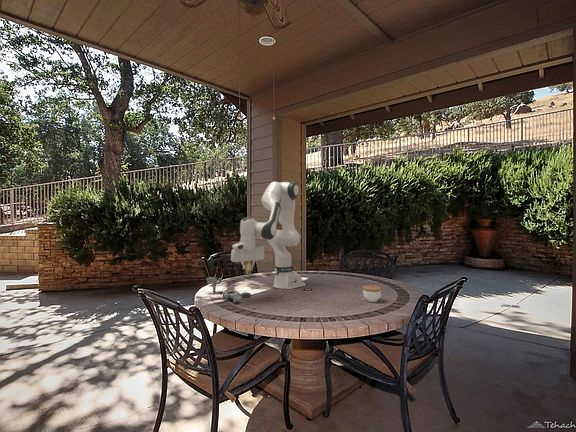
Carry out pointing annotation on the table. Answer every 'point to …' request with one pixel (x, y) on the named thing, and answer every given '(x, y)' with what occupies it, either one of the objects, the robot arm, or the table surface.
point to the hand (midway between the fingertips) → (248, 268)
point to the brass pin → (248, 267)
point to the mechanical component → (213, 282)
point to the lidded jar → (372, 293)
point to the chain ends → (235, 296)
